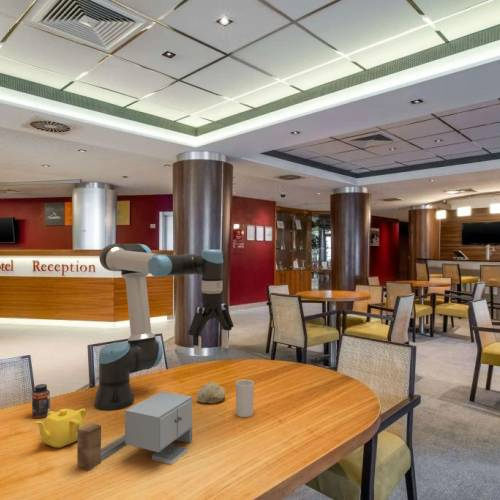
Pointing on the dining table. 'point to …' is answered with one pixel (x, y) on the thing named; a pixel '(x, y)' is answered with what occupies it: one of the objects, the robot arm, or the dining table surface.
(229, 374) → the dining table surface
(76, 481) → the dining table surface
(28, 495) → the dining table surface
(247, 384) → the mug
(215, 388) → the decorative item
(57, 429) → the teapot
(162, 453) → the plate
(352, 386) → the dining table surface
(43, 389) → the supplement bottle
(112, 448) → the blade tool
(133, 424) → the low cabinet
